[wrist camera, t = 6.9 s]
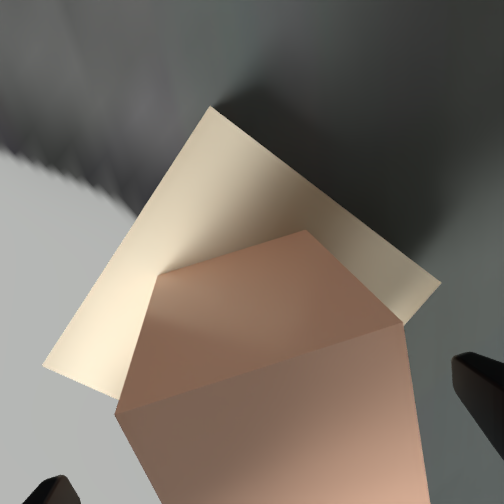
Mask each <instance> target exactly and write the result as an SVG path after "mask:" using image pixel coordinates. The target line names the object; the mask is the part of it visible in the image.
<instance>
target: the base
mask: <svg viewBox="0 0 504 504" xmlns="http://www.w3.org/2000/svg"><path fill="white" fill-rule="evenodd" d="M303 230H307V231H308V232H309V233H310V234H311V235H312V236H313V237H314V238H315V239H317V240H318V241H319V242H320V243H321V244H322V245H323V246H324V247H325V248H326V249H327V250H328V251H329V252H330V253H331V254H332V255H333V256H334V257H335V258H336V259H337V260H338V261H340V262H341V263H342V264H343V265H344V266H345V267H346V268H347V269H348V270H349V271H350V272H351V273H352V274H353V275H354V276H355V277H356V278H357V279H358V280H359V281H360V282H361V283H363V284H364V285H365V286H366V287H367V288H368V289H369V290H370V291H371V292H372V293H373V294H374V295H375V296H376V297H377V298H378V299H379V300H380V301H381V302H382V303H383V304H384V305H386V306H387V307H388V308H389V309H390V310H391V311H392V312H393V313H394V314H395V315H396V316H397V317H398V318H399V319H400V320H401V321H402V322H403V326H404V325H405V324H406V323H407V321H408V320H409V319H410V318H411V317H412V316H413V315H414V314H415V312H416V311H417V310H418V309H419V308H420V307H421V306H422V304H423V303H424V302H425V301H426V300H427V299H428V298H429V296H430V295H431V294H432V293H433V292H434V291H435V290H436V289H437V287H438V286H439V285H440V284H441V282H440V281H438V280H437V279H436V278H434V277H433V276H432V275H430V274H429V273H428V272H426V271H425V270H424V269H423V268H421V267H420V266H419V265H417V264H416V263H415V262H413V261H412V260H411V259H410V258H408V257H407V256H406V255H404V254H403V253H402V252H400V251H399V250H398V249H396V248H395V247H394V246H393V245H391V244H390V243H389V242H387V241H386V240H385V239H383V238H382V237H381V236H379V235H378V234H377V233H376V232H374V231H373V230H372V229H370V228H369V227H368V226H366V225H365V224H364V223H363V222H361V221H360V220H359V219H357V218H356V217H355V216H353V215H352V214H351V213H349V212H348V211H347V210H346V209H344V208H343V207H342V206H340V205H339V204H338V203H336V202H335V201H334V200H332V199H331V198H330V197H329V196H327V195H326V194H325V193H323V192H322V191H321V190H319V189H318V188H317V187H315V186H314V185H313V184H312V183H310V182H309V181H308V180H306V179H305V178H304V177H302V176H301V175H300V174H299V173H297V172H296V171H295V170H293V169H292V168H291V167H289V166H288V165H287V164H285V163H284V162H283V161H282V160H280V159H279V158H278V157H276V156H275V155H274V154H272V153H271V152H270V151H268V150H267V149H266V148H265V147H263V146H262V145H261V144H259V143H258V142H257V141H255V140H254V139H253V138H252V137H250V136H249V135H248V134H246V133H245V132H244V131H242V130H241V129H240V128H238V127H237V126H236V125H235V124H233V123H232V122H231V121H229V120H228V119H227V118H225V117H224V116H223V115H221V114H220V113H219V112H218V111H216V110H215V109H214V108H212V107H211V106H210V107H209V108H208V110H207V111H206V113H205V114H204V116H203V117H202V119H201V120H200V122H199V124H198V125H197V127H196V128H195V130H194V131H193V133H192V134H191V136H190V137H189V139H188V141H187V142H186V144H185V145H184V147H183V148H182V150H181V151H180V153H179V154H178V156H177V158H176V159H175V161H174V162H173V164H172V165H171V167H170V168H169V170H168V171H167V173H166V175H165V176H164V178H163V179H162V181H161V182H160V184H159V185H158V187H157V188H156V190H155V192H154V193H153V195H152V196H151V198H150V199H149V201H148V202H147V204H146V205H145V207H144V209H143V210H142V212H141V213H140V215H139V216H138V218H137V219H136V221H135V222H134V224H133V226H132V227H131V229H130V230H129V232H128V233H127V235H126V236H125V238H124V240H123V241H122V243H121V244H120V246H119V247H118V249H117V250H116V252H115V253H114V255H113V256H112V258H111V260H110V261H109V263H108V264H107V266H106V267H105V269H104V270H103V272H102V273H101V275H100V277H99V278H98V280H97V281H96V283H95V284H94V286H93V288H92V289H91V290H90V292H89V294H88V295H87V297H86V299H85V300H84V301H83V303H82V304H81V306H80V308H79V309H78V311H77V312H76V314H75V315H74V317H73V318H72V320H71V322H70V323H69V324H68V326H67V328H66V329H65V331H64V332H63V334H62V335H61V337H60V338H59V340H58V341H57V343H56V345H55V346H54V348H53V349H52V351H51V352H50V354H49V355H48V357H47V359H46V360H45V362H44V363H43V365H42V366H43V367H45V368H48V369H50V370H52V371H54V372H57V373H59V374H61V375H63V376H66V377H68V378H70V379H72V380H75V381H77V382H79V383H82V384H84V385H86V386H88V387H90V388H93V389H95V390H97V391H100V392H102V393H104V394H106V395H108V396H111V397H113V398H115V399H118V400H119V398H120V395H121V392H122V389H123V386H124V382H125V379H126V376H127V373H128V369H129V366H130V363H131V360H132V356H133V353H134V350H135V347H136V344H137V340H138V337H139V334H140V331H141V327H142V324H143V321H144V318H145V314H146V311H147V308H148V305H149V301H150V298H151V295H152V292H153V289H154V285H155V282H156V279H157V276H158V275H161V274H164V273H167V272H170V271H174V270H177V269H180V268H183V267H187V266H190V265H193V264H196V263H199V262H203V261H206V260H209V259H212V258H216V257H219V256H222V255H225V254H228V253H232V252H235V251H238V250H241V249H245V248H248V247H251V246H254V245H257V244H261V243H264V242H267V241H270V240H274V239H277V238H280V237H283V236H286V235H290V234H293V233H296V232H299V231H303Z"/></svg>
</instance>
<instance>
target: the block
mask: <svg viewBox="0 0 504 504" xmlns="http://www.w3.org/2000/svg"><path fill="white" fill-rule="evenodd" d="M115 417H116V419H117V421H118V422H119V424H120V426H121V428H122V430H123V432H124V434H125V436H126V437H127V439H128V441H129V443H130V445H131V447H132V448H133V451H134V452H135V454H136V456H137V458H138V460H139V462H140V464H141V465H142V467H143V469H144V471H145V473H146V475H147V477H148V478H149V480H150V482H151V484H152V486H153V488H154V490H155V491H156V493H157V495H158V497H159V499H160V501H161V503H162V504H430V499H429V493H428V486H427V479H426V473H425V466H424V459H423V453H422V446H421V439H420V433H419V426H418V419H417V413H416V406H415V399H414V393H413V386H412V379H411V373H410V366H409V359H408V353H407V346H406V339H405V333H404V326H403V322H402V321H401V320H400V319H399V318H398V317H397V316H396V315H395V314H394V313H393V312H392V311H391V310H390V309H389V308H388V307H387V306H386V305H384V304H383V303H382V302H381V301H380V300H379V299H378V298H377V297H376V296H375V295H374V294H373V293H372V292H371V291H370V290H369V289H368V288H367V287H366V286H365V285H364V284H363V283H361V282H360V281H359V280H358V279H357V278H356V277H355V276H354V275H353V274H352V273H351V272H350V271H349V270H348V269H347V268H346V267H345V266H344V265H343V264H342V263H341V262H340V261H338V260H337V259H336V258H335V257H334V256H333V255H332V254H331V253H330V252H329V251H328V250H327V249H326V248H325V247H324V246H323V245H322V244H321V243H320V242H319V241H318V240H317V239H315V238H314V237H313V236H312V235H311V234H310V233H309V232H308V231H307V230H303V231H299V232H296V233H293V234H290V235H286V236H283V237H280V238H277V239H274V240H270V241H267V242H264V243H261V244H257V245H254V246H251V247H248V248H245V249H241V250H238V251H235V252H232V253H228V254H225V255H222V256H219V257H216V258H212V259H209V260H206V261H203V262H199V263H196V264H193V265H190V266H187V267H183V268H180V269H177V270H174V271H170V272H167V273H164V274H161V275H158V276H157V279H156V282H155V285H154V289H153V292H152V295H151V298H150V301H149V305H148V308H147V311H146V314H145V318H144V321H143V324H142V327H141V331H140V334H139V337H138V340H137V344H136V347H135V350H134V353H133V356H132V360H131V363H130V366H129V369H128V373H127V376H126V379H125V382H124V386H123V389H122V392H121V395H120V398H119V402H118V405H117V408H116V412H115Z"/></svg>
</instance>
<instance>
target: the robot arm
mask: <svg viewBox="0 0 504 504" xmlns="http://www.w3.org/2000/svg"><path fill="white" fill-rule="evenodd" d="M451 364H452V380H453V387H454V390H455V392H456V394H457V395H458V397H459V398H460V400H461V401H462V403H463V404H464V405H465V407H466V408H467V410H468V411H469V413H470V414H471V415H472V417H473V418H474V420H475V421H476V423H477V424H478V425H479V427H480V428H481V430H482V431H483V432H484V434H485V435H486V437H487V438H488V440H489V441H490V442H491V444H492V445H493V447H494V448H495V449H496V451H497V452H498V453H499V455H500V456H501V457H502V459H503V460H504V363H502V362H499V361H496V360H493V359H491V358H488V357H485V356H482V355H479V354H476V353H473V352H465V353H462V354H459V355H455V356H454V357H453V358H452V360H451ZM22 504H81V502H80V498H79V497H78V495H77V493H76V492H75V490H74V488H73V487H72V485H71V483H70V482H69V480H68V478H67V477H66V476H64V475H58V476H55V477H52V478H49V479H46V480H44V481H43V482H41V483H40V484H39V486H38V487H37V488H36V489H35V490H34V491H33V492H32V493H31V495H30V496H29V497H28V498H27V499H26V500H25V501H24V502H23V503H22Z"/></svg>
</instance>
